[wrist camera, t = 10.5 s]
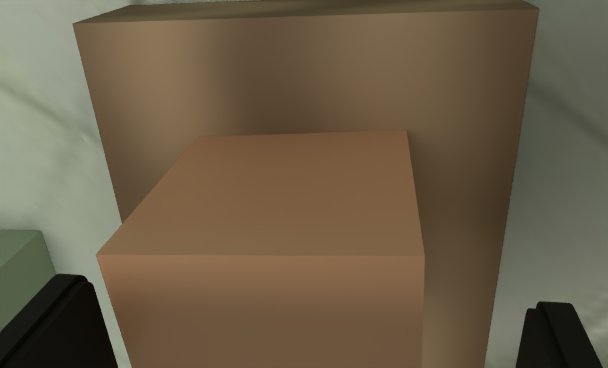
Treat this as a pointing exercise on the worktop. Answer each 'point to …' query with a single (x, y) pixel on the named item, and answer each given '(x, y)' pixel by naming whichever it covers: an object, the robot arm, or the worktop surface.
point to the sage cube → (21, 270)
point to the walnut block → (336, 112)
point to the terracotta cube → (274, 256)
